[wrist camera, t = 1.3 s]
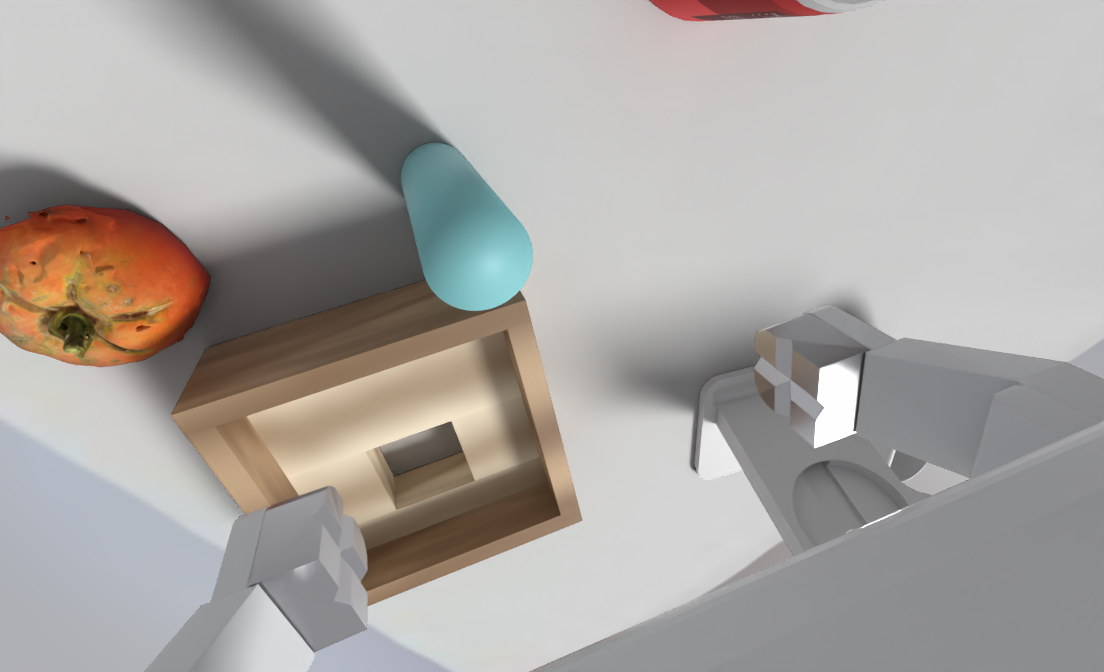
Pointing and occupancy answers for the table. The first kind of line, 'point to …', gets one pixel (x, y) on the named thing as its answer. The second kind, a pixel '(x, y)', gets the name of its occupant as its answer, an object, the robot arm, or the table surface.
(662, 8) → the canned food
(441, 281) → the peg
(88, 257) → the tomato
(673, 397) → the table surface
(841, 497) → the phone holder
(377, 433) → the box
